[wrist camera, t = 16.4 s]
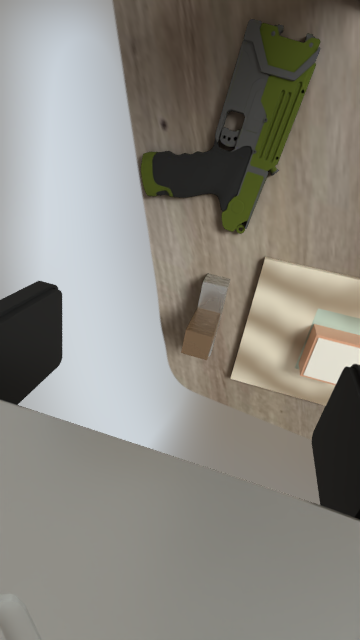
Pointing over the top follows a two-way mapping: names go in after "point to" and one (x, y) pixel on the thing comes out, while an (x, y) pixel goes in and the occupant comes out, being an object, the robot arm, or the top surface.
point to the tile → (328, 354)
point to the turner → (206, 317)
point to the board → (293, 325)
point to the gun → (243, 127)
